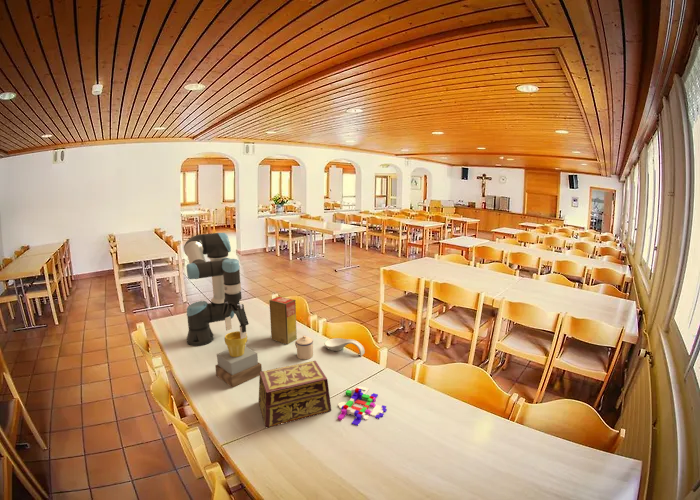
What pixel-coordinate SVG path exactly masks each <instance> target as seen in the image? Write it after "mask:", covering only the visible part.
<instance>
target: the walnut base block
mask: <svg viewBox="0 0 700 500" xmlns="http://www.w3.org/2000/svg"><path fill="white" fill-rule="evenodd" d="M262 371H263V368H262V363H260V362H259V361H258V364H257V365H255V366H253V367H250V368H248V369H246V370H243V371H241V372H239V373H236V374H234V375H231V374H230V373H228V372H227V371H225V370H224V369H223V368H221V367H220V366H218V363H217V364H215V376H216V377H218V378H219V379H220V380H222V381H223V382H224V383H225V384H227V385H228V386H230V387H231V388H232V389H233V388H236V387H238V386H240V385H242V384H245V383H247V382H249V381H251V380H253V379H256V378H259V377H260V372H262Z"/></svg>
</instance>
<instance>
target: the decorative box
mask: <svg viewBox="0 0 700 500" xmlns="http://www.w3.org/2000/svg"><path fill="white" fill-rule="evenodd" d="M258 378H259V383H258V404H259V409H260V413H261V416H262V419H263V423H264V426H265V428H266V427H268V428H271V427H270V426H272V427H275V426H274V425H276V426H279V425H278V424H280V425H282V424H281V423H284V424H286V422H287V423H291V422H295V421H297V420H298V419H299V420H302V418H303V419H305V417H306V418H309V416H310V417H313V415H314V416H317V414H318V415H322V414H325V413H328V411H329V412H331V411H332V404H331V397H330V396H331V395H330V389H329V381H328V378H327V376H326V375H325V373H324V371H323V370H322V368H321V367H320V365H319V364H318V362H317V361H316V360H310V361H306V362H300V363H296V364H292V365H287V366H282V367H278V368H277V367H276V368H272V369H266V370H262V372H260V376H258ZM324 412H325V413H324ZM321 413H322V414H321ZM294 420H295V421H294ZM299 420H298V421H299ZM290 421H291V422H290Z"/></svg>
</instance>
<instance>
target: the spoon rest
mask: <svg viewBox="0 0 700 500" xmlns="http://www.w3.org/2000/svg"><path fill="white" fill-rule="evenodd" d="M349 344H350V345H351V344H352V345H353V346H354V345H355V347H357V349H358V351H359V357H362V356H363V355H364V354H365V353H366V352H365V351H366V350H365V347H364V345H362V343H360V342H359V341H357V340H356V339H353V338H352V339H351V338H348V339H347V338H340V337H339V338H338V337H335V338H331V339H327V340H326V341H325V342H324V346H325V347H326V348H327V349H328V350H331V351H334V352H339V351H341V350H343V348H344V347H346V346H347V345H349Z"/></svg>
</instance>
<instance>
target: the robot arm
mask: <svg viewBox="0 0 700 500" xmlns="http://www.w3.org/2000/svg"><path fill="white" fill-rule="evenodd" d="M231 251H232V249H231V244H230V238H229V236H228V234H227V233H225V232H212V233H204V234H203V233H202V234H196V235H193V236H192V237H190V238H188V239H187V241H185V244H184V245H183V253H184V254H185V256H187V259H188V263H186V266H185V267H186V275H187V278H188V279H189V280H198V279H205V278H211V284H212V295H213V297H212V298H211V300H210V302H208V301H206V300H201V301H196V302H193V303H191V304H189V305H188V306H187V307H186V318H187V326H188V328H187V329H188V331H187V336H186V344H187V346H190V347H201V346H205V345H207V344H211V343H212V342H213V341H214V339H215V338H214V336H215V335H214V333H213V331H212V329H211V326H210V324H211V323H215V322H217V323H218V322H222V321H225V323H224V324H225V331H229V330H232V329H233V328H232V319H233V318H234V317H235V316H236V317H237V320H238V322H239V331H240V337H241V339H243V338H246V337H247V338H248V335H247V336H246V334H247V326H248V325H249V324H250V323H249V319H248V317H247V314H246V311H245V306H244V303H240V301H241V300H242V298H243V297H242V285H241V275H240V274H241V273H240V272H241V271H240V268H241V267H240V263H239V259H238V258H229V253H231ZM204 255H207V256H206V257H207V258H208V259H209V260H208V261H207V260H206V258H205V256H204Z"/></svg>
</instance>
